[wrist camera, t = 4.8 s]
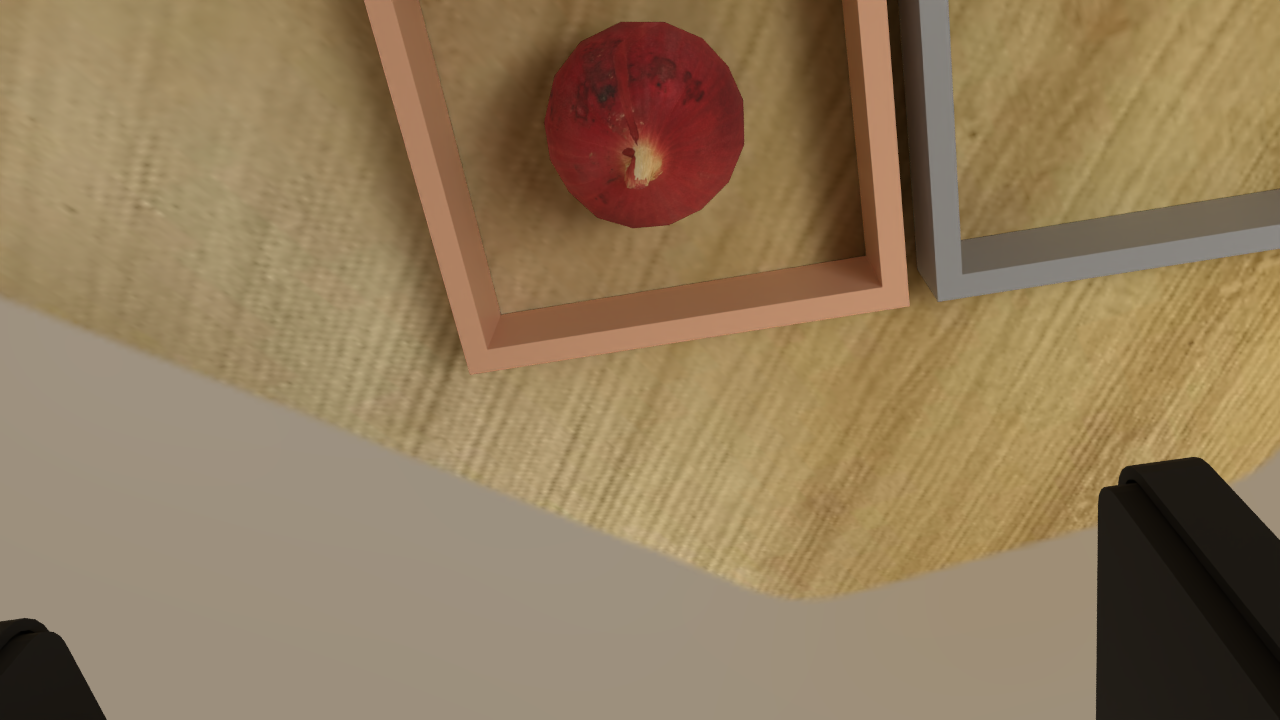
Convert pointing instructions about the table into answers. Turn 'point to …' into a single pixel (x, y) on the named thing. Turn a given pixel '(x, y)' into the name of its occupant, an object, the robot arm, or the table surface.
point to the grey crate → (1052, 248)
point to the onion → (644, 124)
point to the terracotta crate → (662, 310)
